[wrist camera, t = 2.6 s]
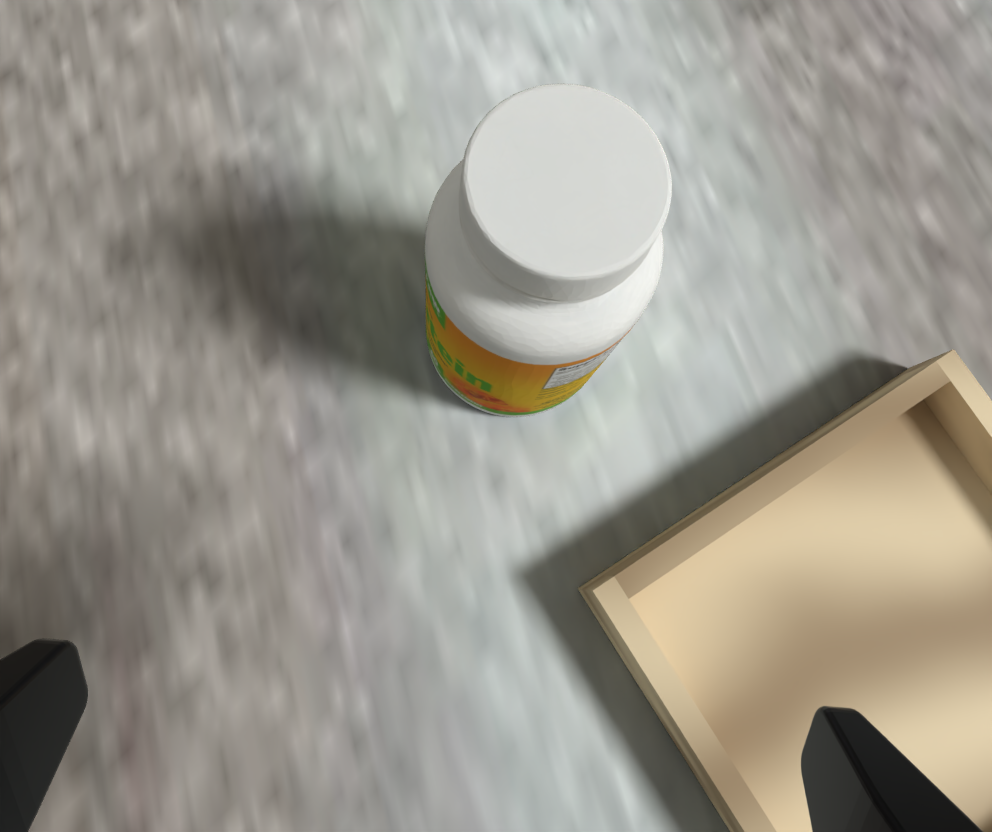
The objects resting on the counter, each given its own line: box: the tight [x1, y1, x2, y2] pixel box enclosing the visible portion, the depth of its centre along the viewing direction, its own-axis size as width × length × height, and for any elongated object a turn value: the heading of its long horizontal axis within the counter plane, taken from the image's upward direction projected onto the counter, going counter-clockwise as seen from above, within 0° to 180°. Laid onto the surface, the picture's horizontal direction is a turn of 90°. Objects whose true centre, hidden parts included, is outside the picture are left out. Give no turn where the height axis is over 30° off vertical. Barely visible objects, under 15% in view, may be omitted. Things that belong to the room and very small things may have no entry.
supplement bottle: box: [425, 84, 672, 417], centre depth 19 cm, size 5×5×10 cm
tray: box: [578, 349, 992, 832], centre depth 21 cm, size 13×13×2 cm
